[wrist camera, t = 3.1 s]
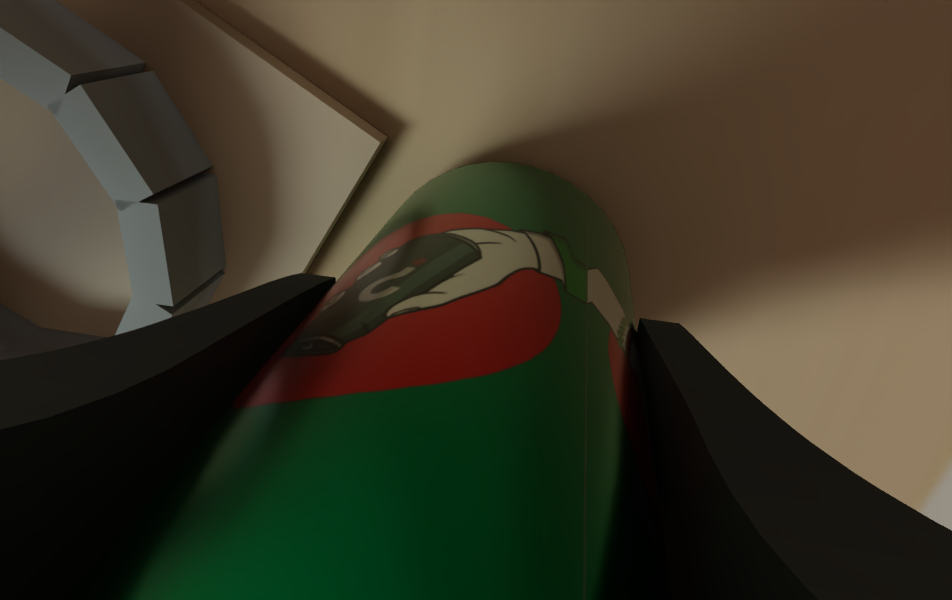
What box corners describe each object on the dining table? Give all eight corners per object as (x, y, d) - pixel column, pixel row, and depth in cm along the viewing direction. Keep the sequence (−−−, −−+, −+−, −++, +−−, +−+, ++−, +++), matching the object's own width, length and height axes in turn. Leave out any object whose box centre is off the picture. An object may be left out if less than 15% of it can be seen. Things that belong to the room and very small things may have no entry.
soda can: (342, 278, 14) (-394, 1151, 4) (489, 98, 12) (-264, 939, 1) (515, 415, 15) (336, 1446, 4) (681, 269, 13) (1104, 1594, 2)
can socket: (-199, 236, 16) (-326, 276, 14) (-140, -237, 11) (-318, -292, 9) (187, 469, 18) (128, 539, 15) (387, 137, 13) (344, 169, 10)
